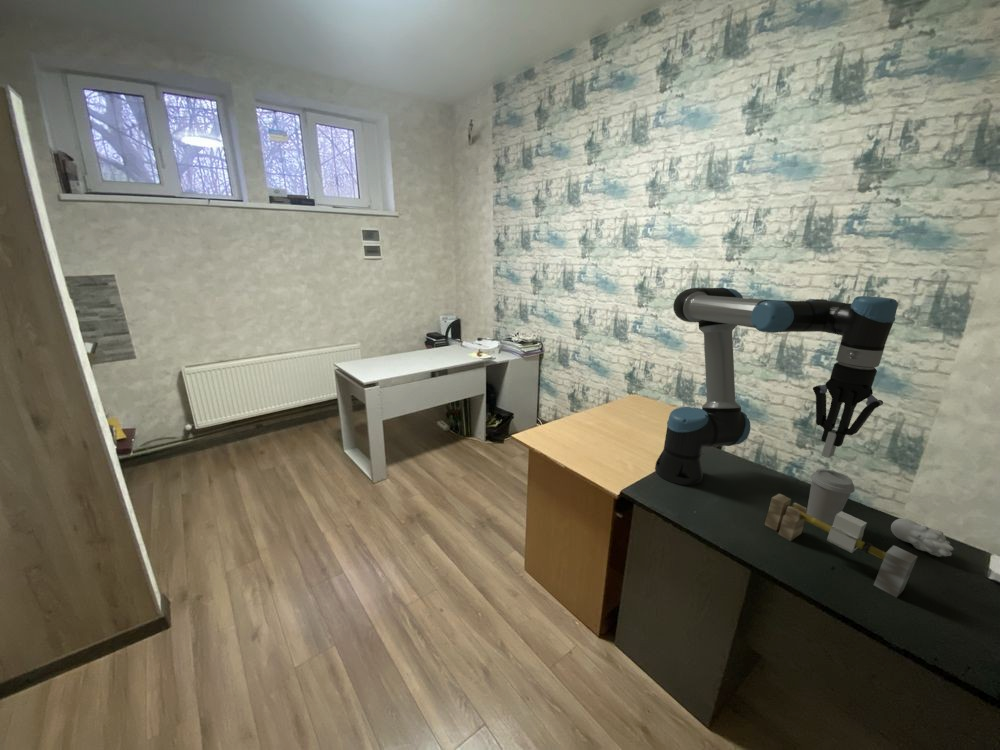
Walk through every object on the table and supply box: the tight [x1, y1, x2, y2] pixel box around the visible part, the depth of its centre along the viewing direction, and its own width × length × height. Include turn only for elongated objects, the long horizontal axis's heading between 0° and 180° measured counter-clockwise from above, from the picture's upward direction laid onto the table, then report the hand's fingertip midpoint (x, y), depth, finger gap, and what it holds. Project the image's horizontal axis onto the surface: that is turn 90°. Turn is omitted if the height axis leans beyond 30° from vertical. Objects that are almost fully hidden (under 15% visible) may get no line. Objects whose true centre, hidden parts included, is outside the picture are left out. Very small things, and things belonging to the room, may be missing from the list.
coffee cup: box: [806, 468, 856, 528], centre depth 109 cm, size 10×10×15 cm
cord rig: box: [764, 493, 918, 599], centre depth 98 cm, size 28×6×10 cm, turn 30°
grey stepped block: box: [826, 510, 868, 554], centre depth 95 cm, size 5×4×7 cm
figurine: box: [890, 517, 955, 558], centre depth 102 cm, size 7×7×12 cm
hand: (827, 455), depth 97 cm, fingers closed
